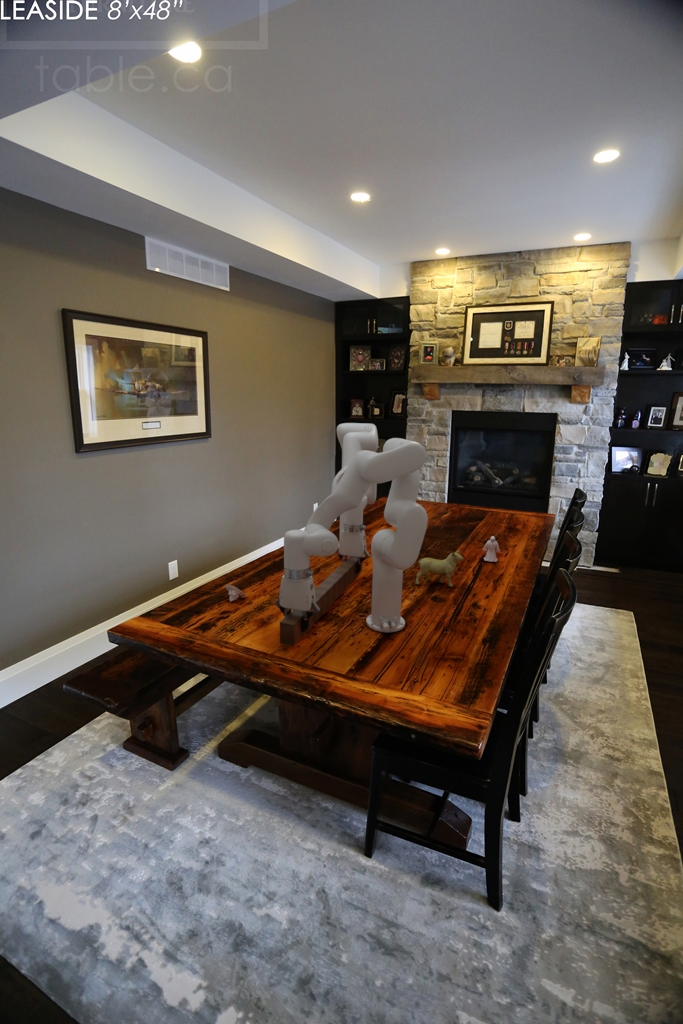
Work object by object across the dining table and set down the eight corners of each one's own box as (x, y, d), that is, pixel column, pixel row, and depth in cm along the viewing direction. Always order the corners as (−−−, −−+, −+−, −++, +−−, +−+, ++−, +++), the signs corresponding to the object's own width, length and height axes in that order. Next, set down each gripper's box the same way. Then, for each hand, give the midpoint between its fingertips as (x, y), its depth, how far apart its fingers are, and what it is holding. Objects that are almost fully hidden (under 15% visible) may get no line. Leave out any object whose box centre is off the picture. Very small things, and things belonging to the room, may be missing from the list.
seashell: (231, 609, 179) (216, 592, 179) (241, 599, 183) (227, 583, 182) (239, 604, 173) (224, 587, 172) (250, 595, 177) (235, 577, 176)
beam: (293, 646, 144) (293, 624, 142) (279, 643, 145) (279, 622, 144) (362, 571, 205) (362, 555, 203) (351, 569, 206) (352, 553, 205)
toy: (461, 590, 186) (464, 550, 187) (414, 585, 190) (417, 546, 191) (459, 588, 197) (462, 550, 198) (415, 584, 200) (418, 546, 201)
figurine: (481, 562, 222) (483, 536, 219) (482, 556, 230) (484, 531, 227) (499, 564, 220) (501, 538, 217) (499, 558, 228) (501, 533, 225)
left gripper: (376, 527, 195) (374, 571, 199) (335, 522, 200) (335, 565, 205) (371, 532, 188) (369, 577, 193) (329, 527, 194) (328, 571, 198)
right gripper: (328, 571, 147) (327, 628, 151) (276, 564, 152) (277, 619, 157) (318, 580, 140) (318, 639, 145) (265, 572, 146) (266, 629, 150)
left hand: (351, 571), depth 199 cm, fingers closed on beam, 4 cm apart
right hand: (297, 628), depth 151 cm, fingers closed on beam, 4 cm apart
